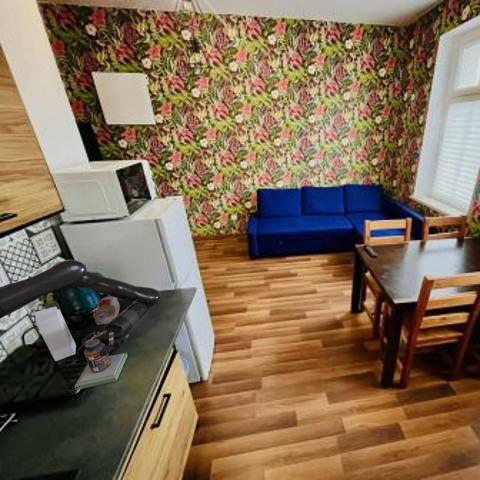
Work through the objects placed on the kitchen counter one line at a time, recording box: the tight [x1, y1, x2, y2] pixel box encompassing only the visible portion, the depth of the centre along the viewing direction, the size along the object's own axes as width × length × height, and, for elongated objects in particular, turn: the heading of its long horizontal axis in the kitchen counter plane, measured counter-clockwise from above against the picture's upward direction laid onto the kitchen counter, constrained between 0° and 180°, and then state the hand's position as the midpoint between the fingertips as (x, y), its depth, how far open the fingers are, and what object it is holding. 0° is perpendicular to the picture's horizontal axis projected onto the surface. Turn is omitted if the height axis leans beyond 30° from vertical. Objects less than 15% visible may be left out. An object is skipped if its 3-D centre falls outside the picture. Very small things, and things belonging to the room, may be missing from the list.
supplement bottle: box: [83, 338, 111, 373], centre depth 95 cm, size 6×6×11 cm
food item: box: [93, 295, 121, 326], centre depth 125 cm, size 14×8×10 cm, turn 28°
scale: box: [74, 352, 129, 391], centre depth 98 cm, size 12×12×3 cm
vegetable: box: [44, 292, 69, 328], centre depth 115 cm, size 4×4×20 cm
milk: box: [33, 307, 77, 362], centre depth 102 cm, size 6×6×22 cm
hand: (89, 354), depth 92 cm, fingers open, 8 cm apart
